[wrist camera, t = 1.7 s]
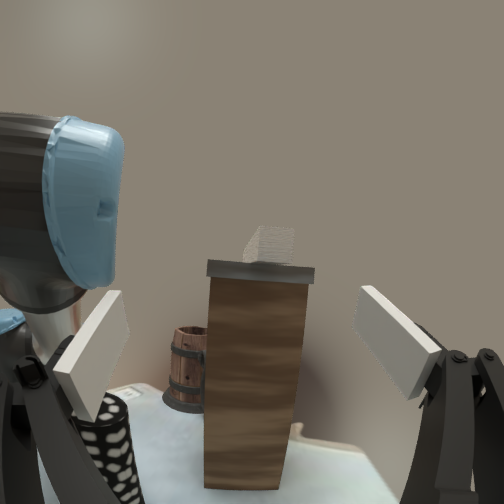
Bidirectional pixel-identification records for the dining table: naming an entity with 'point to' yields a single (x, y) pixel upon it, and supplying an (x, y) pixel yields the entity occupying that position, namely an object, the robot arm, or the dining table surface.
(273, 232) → the bar
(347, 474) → the dining table surface
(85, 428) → the white-spotted black cylinder
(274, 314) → the column
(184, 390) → the tankard
